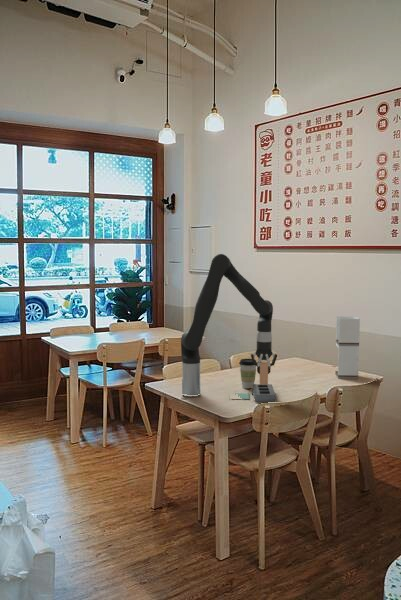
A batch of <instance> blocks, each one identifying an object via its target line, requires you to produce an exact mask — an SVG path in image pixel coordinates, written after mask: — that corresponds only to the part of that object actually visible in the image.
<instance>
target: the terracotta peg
mask: <svg viewBox="0 0 401 600" xmlns="http://www.w3.org/2000/svg"><path fill="white" fill-rule="evenodd" d="M258 375H259V377H258V378H259V380H258V381H259V383H258V384H260V385H268V384H269V380H268V379H269V374H268V363H267V361H261V363H260V374H258Z"/></svg>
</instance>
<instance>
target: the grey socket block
mask: <svg viewBox="0 0 401 600" xmlns="http://www.w3.org/2000/svg"><path fill="white" fill-rule="evenodd" d="M252 395H253V400H254V399H255V400H254V403H255V402H275V401H276V398H277V397H276V392H275V389H274V387H273V384H272V383H270V384H269V383H268V385H260V383H257V384H256V383H254V384H253V388H252Z"/></svg>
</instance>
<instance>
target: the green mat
mask: <svg viewBox="0 0 401 600" xmlns="http://www.w3.org/2000/svg"><path fill="white" fill-rule="evenodd" d="M234 393H235V395H236V394H238V397H239V396H240V398H242V399H249V400H250V394H249V393H247V392H246V393H244V392H241V393H239V392H234Z"/></svg>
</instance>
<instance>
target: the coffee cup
mask: <svg viewBox="0 0 401 600" xmlns="http://www.w3.org/2000/svg"><path fill="white" fill-rule="evenodd" d="M255 362H256V363H258V361H257V359H255ZM238 365H239V367H240V368H239V370H240V371H239V373H240V379H241V381H240V382H241V387H242V389H245V388H252V389H253V384H255V381H256V375H257V374H256V373H257V366H256V365H254V364H253V361H252V358H241V359H240V360H239V363H238Z"/></svg>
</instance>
